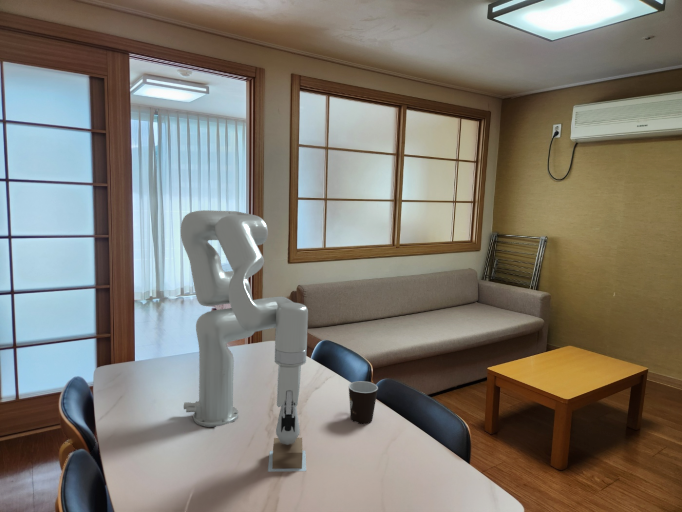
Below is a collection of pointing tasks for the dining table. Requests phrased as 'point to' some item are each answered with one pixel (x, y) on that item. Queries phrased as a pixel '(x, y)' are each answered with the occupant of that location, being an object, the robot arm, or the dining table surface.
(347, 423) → the dining table surface
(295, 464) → the base block
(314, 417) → the dining table surface
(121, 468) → the dining table surface
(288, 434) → the salt shaker
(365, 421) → the coffee mug
